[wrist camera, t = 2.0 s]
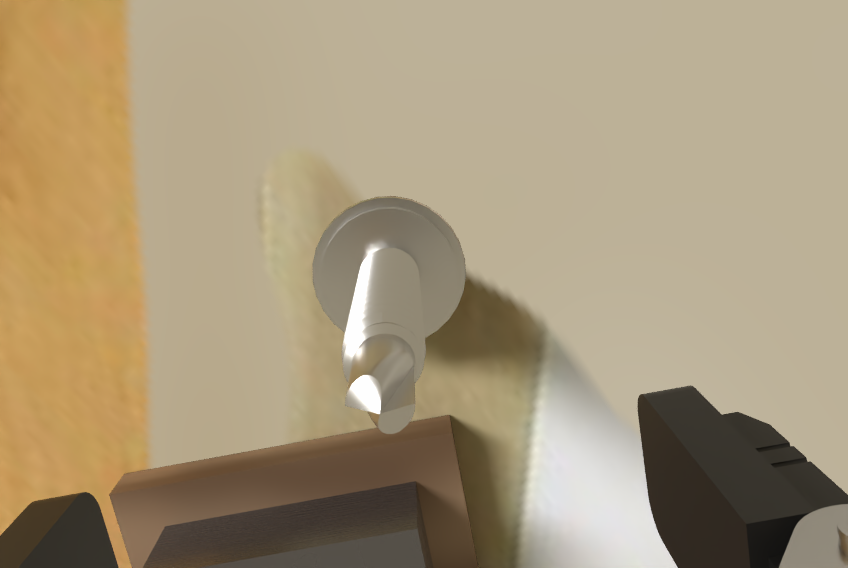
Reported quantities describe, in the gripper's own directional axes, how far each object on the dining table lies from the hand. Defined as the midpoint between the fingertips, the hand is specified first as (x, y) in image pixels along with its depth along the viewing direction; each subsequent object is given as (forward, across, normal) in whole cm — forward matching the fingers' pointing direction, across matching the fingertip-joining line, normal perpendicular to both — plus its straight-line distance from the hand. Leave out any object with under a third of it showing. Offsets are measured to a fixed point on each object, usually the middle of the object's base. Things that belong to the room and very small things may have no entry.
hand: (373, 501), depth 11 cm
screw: (+16, 0, 0) cm, 16 cm away
